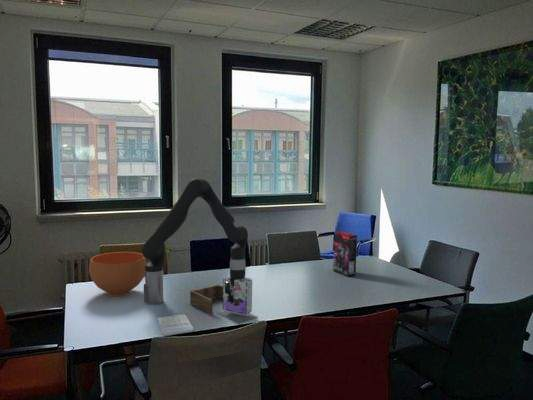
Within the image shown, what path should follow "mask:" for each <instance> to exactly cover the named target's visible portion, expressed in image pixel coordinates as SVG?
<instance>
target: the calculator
mask: <svg viewBox="0 0 533 400" xmlns="http://www.w3.org/2000/svg"><path fill="white" fill-rule="evenodd" d="M157 322H158V325H159V327H160V329H161V331H162V332H161V333H162V334H163V336H172V335H178V334H185V333H193V332H194V327H193V325H192V324H191V322H190V321H189V319H188V317H187V316H186V314H175V315H170V316H169V315H168V316H166V315H165V316H160V317H158V318H157Z"/></svg>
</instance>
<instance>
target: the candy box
mask: <svg viewBox="0 0 533 400" xmlns="http://www.w3.org/2000/svg"><path fill="white" fill-rule="evenodd" d="M249 278H250V277H248V278H241V279H235V280H234V286H235V291H234V293H233V302H232V303H231V302H229V295H228V294H226V293H225V282H229V281H230V279H231V278H230V274H227V275H225V276H223V277H222V286H223V300H222V311H226V310H228V311H232V312H237V313H242V314H248V313H250V314H251V313H252V311H253V278H250V279H249ZM234 286H233V285H232V284H230V288H234ZM231 291H232V290H231Z"/></svg>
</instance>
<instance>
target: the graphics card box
mask: <svg viewBox="0 0 533 400" xmlns="http://www.w3.org/2000/svg"><path fill="white" fill-rule="evenodd" d="M333 238H334V239H333V240H334V241H333V242H334V243H333V266H332V267H333V268H332V271H333V272H336V273H338V274H341V275H343V276H345V277H353V276H356V271H357V267H356V266H357V249H358V248H357V246H358V245H357V244H358V235H357V234H353V233H349V232H345V231H335V232H334V237H333Z"/></svg>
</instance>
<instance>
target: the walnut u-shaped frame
mask: <svg viewBox="0 0 533 400" xmlns="http://www.w3.org/2000/svg"><path fill="white" fill-rule="evenodd" d="M189 294H190V302H189V304H190V305H192V306H193V307H195V308H198V309H200V310H202V311H203V312H206V313H208V314H210V315H211V314H213V300H214V299H220V300H222V301H223V285H221V284H217V285H211V286H207V287H201V288H197V289H193V290H190V293H189Z"/></svg>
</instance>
